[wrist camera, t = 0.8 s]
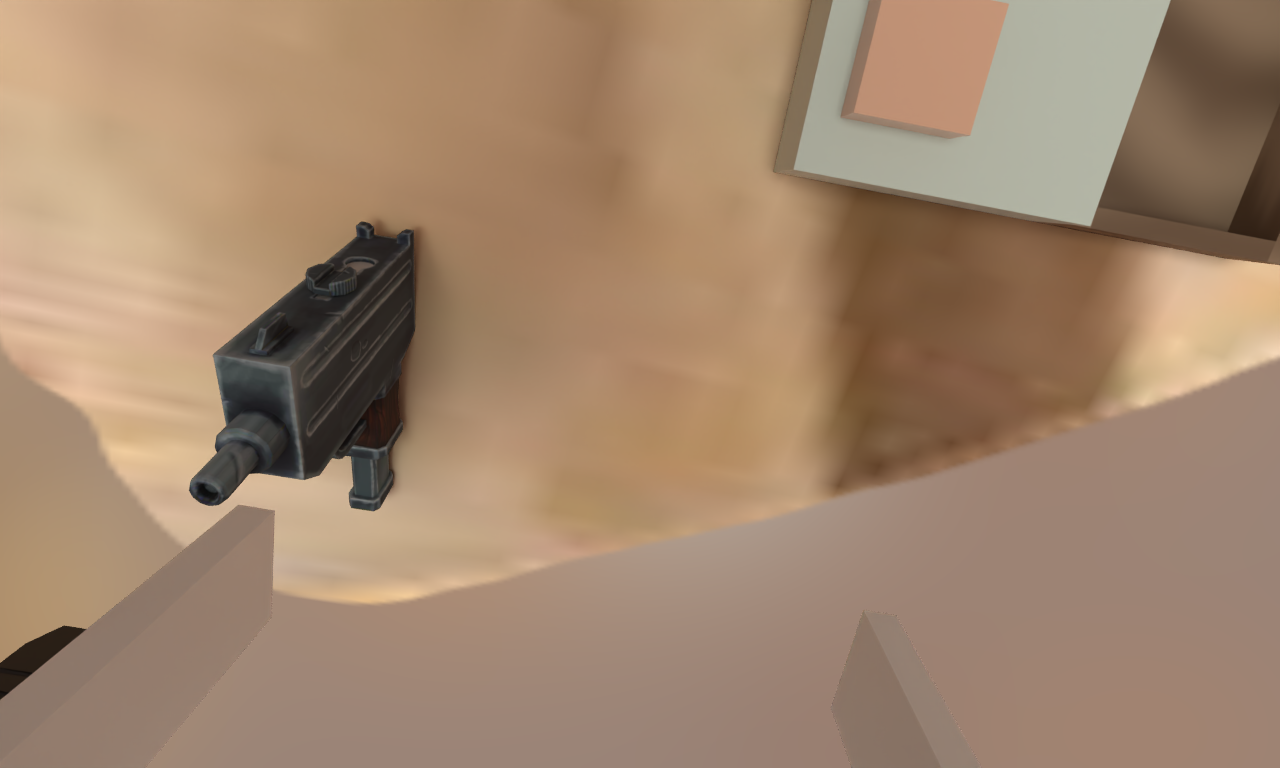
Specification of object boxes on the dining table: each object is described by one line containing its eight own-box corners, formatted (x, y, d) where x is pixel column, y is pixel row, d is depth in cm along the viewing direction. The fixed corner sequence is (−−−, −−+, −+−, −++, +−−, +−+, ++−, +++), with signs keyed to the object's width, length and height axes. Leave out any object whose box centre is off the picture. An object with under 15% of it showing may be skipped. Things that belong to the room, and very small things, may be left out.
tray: (1162, -177, 31) (1225, -220, 28) (1387, -127, 32) (1475, -164, 28) (1030, 221, 36) (1070, 224, 33) (1227, 258, 37) (1286, 265, 33)
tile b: (870, -8, 29) (887, -22, 27) (984, 16, 29) (1009, 3, 27) (840, 117, 30) (853, 112, 28) (949, 138, 30) (970, 135, 28)
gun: (218, 693, 28) (138, 389, 21) (373, 450, 43) (361, 217, 35) (283, 702, 28) (229, 403, 21) (416, 457, 43) (413, 227, 35)
